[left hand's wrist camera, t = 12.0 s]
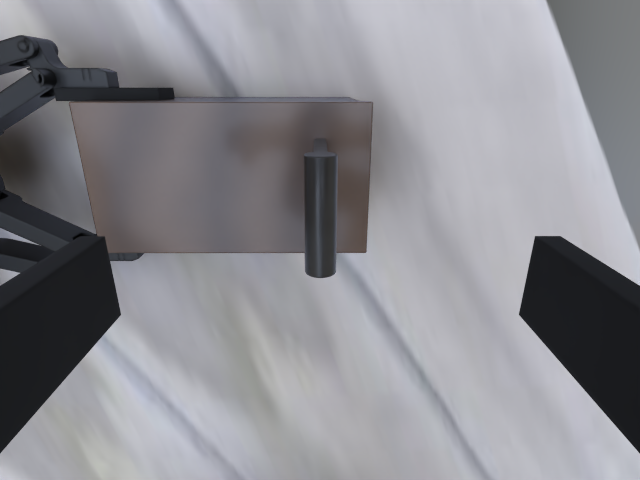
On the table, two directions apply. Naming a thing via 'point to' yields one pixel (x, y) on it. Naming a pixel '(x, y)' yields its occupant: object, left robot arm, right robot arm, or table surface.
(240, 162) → the lid
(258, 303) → the table surface
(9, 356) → the left robot arm
